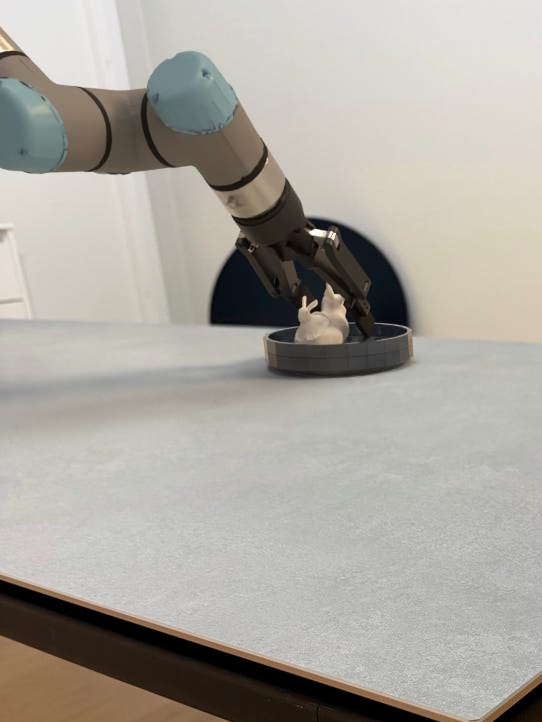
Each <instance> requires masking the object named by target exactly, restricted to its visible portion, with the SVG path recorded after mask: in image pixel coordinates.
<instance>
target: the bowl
mask: <svg viewBox="0 0 542 722" xmlns="http://www.w3.org/2000/svg"><path fill="white" fill-rule="evenodd" d="M348 325H349V334H348V337H347V338H346V340H345V341H344V342H343V343H341V344H296V343H294V338H295V335H296V331H297V329H298V328H299V327H300V325H299V326H292V327H285V328H281V329H277V330H274V331H273V330H272V331H270V332H267V333H266V334H264V335H263V337H262V341H263V349H264V350H263V351H264V357H265V363H266V364H267V365H268V366H270V367H272V368H275V369H278V370H279V371H281V372H283V373H286V374H291V375H298V376H309V377H341V376H357V375H365V374H373V373H378V372H379V373H380V372H384V371H388V370H392V369H396V368H397V367H400V366H402V365H403V364H404V363H405V362H407V361H410V360H411V359H413V358H414V343H413V342H414V341H413V340H414V339H413V331H412V328H410V327H408V326H405V325H401V324H396V323H395V324H394V323H382V322H375V323H374V326H373V329H372V332H371V335H370V337H369V338H364V336H363V335H362V333H361V332H360V330H359V329H358V327H357V325H356V324H355V322H348Z"/></svg>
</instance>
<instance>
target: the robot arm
mask: <svg viewBox="0 0 542 722" xmlns="http://www.w3.org/2000/svg"><path fill="white" fill-rule="evenodd" d="M182 167H184V168H185V167H194V168H195V169H196V170H197V172H198V173H199V175H201V177H202V178H203V180H204V181H205V183H206V184H207V185H208V186H209V188H210V189H211V190H212V192H213V193H214V194H215V196H216V197H217V198H218V200H219V201H220V203H221V204H222V205H223V207H224V208H225V210H226V211H227V212H228V214H230V216H231V219H232V220H233V222H234V223H235V225H236V226H237V227H238V228H239V233H238V236H237V238H236V240H235V243H234V247H235V248H236V249H237V250H238V251H240V253H241V254H242V255H244V256H245V258H246V259H247V261H248V262H249V264H250V265H251V267H252V269H253V270H254V272H255V273H256V275H257V276H258V278H259V280H260V281H261V283H262V284H263V286H264V288H265V289H266V291H267V292H268V293H269V295H270V296H271V297H272V298H273V299H278V298H280V297H283V298H284V300H285V301H287V302H290V303H291V305H292V307H294V309H295V310H296V312H297V313H298V314H299V309H300V308H302V306H303V305H302V300H303V297H304V296H306V307H308V305H309V304H311V303H312V302H313V301H315V300H316V298H315V296H314V295H313V294H312V292H311V291H310V289H309V287H307V285H300V284H301V281H302V279H300V278H298V275H297V271H296V268H295V263H294V261H296V262H299V263H300V264H301V265H302V266H303V267H304V268H305V269H306V270H309V271H310V270H312V271H313V272H314V273H315V274H317V276H319V277H320V278H321V279H322V280H323V281H324V282H325V283H326V282H327V283H328V284H329V285H330V286H331V288H332V290H334V291H335V292H336V294H339V295H341V296H342V297H343V298H344V299H345V301H344V303H343V306H344V307H345V309H346V313H348V316H350V318H351V320H352V321H353V323H355V324H356V325H357V327H358V329H359V330H360V332H361V333H362V335H363V336H364V338H369V337H370V335H371V332H372V329H373V326H374V323H376V319H375V317H374V316H373V314H372V313H371V311H370V309H371V305H370V303H369V301H368V300H367V298H366V297H367V295H368V293H369V290H370V286H371V284H372V281H371V279H370V278H369V277H368V275H367V274H366V273H365V271H364V269H363V268H362V266H361V265H360V264H359V262H358V261H357V259H356V258H355V257H354V255H353V254H352V252H351V250H350V249H349V248H348V246H346V244H345V243H344V242H343V241H344V240H343V239H342V235H341V232H340V230H339V229H340V228H338V227H337V226H335V225H330V226H329V227H328V229H327V230H323V229H317V228H316V226H315V225H314V223H312V222H311V221H310V220H308V218H306V215H305V212H304V208H303V203H302V201H301V199H300V197H299V196H298V194H297V192H296V191H295V189H294V188H293V186H292V184H291V183H290V181H289V180H288V178H287V177H286V175H285V173H284V171H283V169H282V167H281V166H280V165H279V163H278V161H277V160H276V158H275V157H274V155H273V154H272V152H271V151H270V149H269V148H268V146H267V144H266V143H265V142H264V140H263V138H262V136H261V135H260V134H259V133H258V132H257V129H256V128H255V125H253V122H252V121H251V119H250V118H249V115H248V113H247V112H246V110H245V109H244V107H243V105H242V104H241V101H240V100H239V98H238V96H237V94H236V91H235V90H234V88H233V86H232V85H231V84H230V83H229V82H228V81H227V79H225V77H224V76H223V74H222V73H221V71H220V69H219V68H218V67H217V66H216V64H215V62H214V61H213V60H212V59H211V58H210V57H208V56H207V55H206V54H204V53H202V52H199V51H195V50H185V51H181V52H177V53H176V54H175V55H174V56H173V57H171V58H166V59H165V60H162V62H161V63H159V64H158V65H157V67H155V69H154V70H153V71H152V73H151V74H150V75H149V78H148V79H147V82H146V87H144V88H134V89H122V90H119V89H117V90H116V89H106V88H96V87H85V86H84V87H83V86H77V85H69V84H68V85H67V84H61V83H60V84H59V83H56V82H54V81H52V79H50V78H49V76H48V75H46V73H45V72H44V71H43V70H42V69H41V68H40V67H39V66H38V65H37V64H36V63H35V62H34V61H33V60H32V58H30V57H29V55H28V54H27V53H25V51H24V50H22V48H21V47H20V46H19V45H18V44H17V43H16V41H14V40H13V38H12V37H10V35H9V34H8V33H7V32H6V31H5V30H4V29H3V27H2V26H0V169H1V170H5V171H9V172H22V173H26V174H29V175H44V174H52V173H81V172H83V173H95V174H97V175H111V176H117V175H118V176H119V175H121V176H125V175H130V174H132V173H140V172H147V171H154V170H162V169H170V168H171V169H176V168H182ZM321 307H322V306H321V305H320V303H318V302H317V305H316V307H314V308H312V309H311V310H310V314H312V313H314V312H321Z"/></svg>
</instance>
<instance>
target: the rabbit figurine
mask: <svg viewBox="0 0 542 722" xmlns="http://www.w3.org/2000/svg"><path fill="white" fill-rule="evenodd" d="M325 287H326V288H325V291H324V293H323V297H322V301H321V306H320V307H321V312H314V313H312V314H310V310H311V309H312V308H314V307H316V305H317V303H318V299H315V301H313V302H312V303H311V304H309V305H308V307H306V296H304V297H303V300H302V305H303V306H302V308H300V309H299V313H298V315H297V318H298V321H299V323H300V324H299V326H300V327H299V328H298V329H297V331H296V335H295V338H294V343H296V344H341V343H343V342H344V341H345V340H346V338H347V337H348V334H349V325H348V323H349V322H348V320H347V318H346V314H347V310H346V309H345V307H344V306H343V303H344V301H345V299H344V298H343V297H342V296H341V295H339V294H338V293H334V291H333V290H334V289H333V288H332V287H331V286H330V285H329V284H328V283H327V282H325Z"/></svg>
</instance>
